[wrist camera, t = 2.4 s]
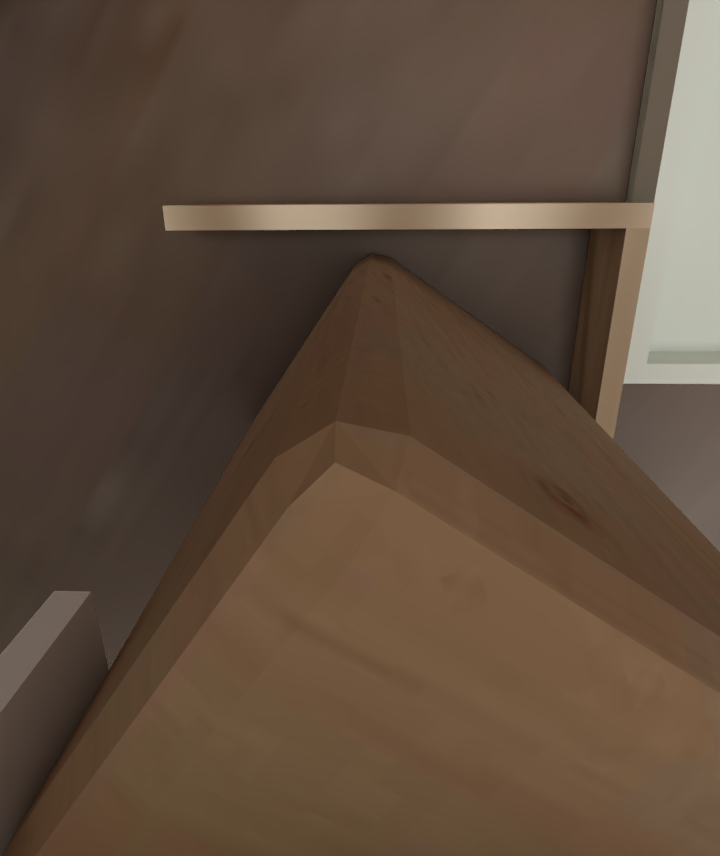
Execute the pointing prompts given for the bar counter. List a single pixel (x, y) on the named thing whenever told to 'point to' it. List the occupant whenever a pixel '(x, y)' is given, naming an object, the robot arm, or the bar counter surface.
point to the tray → (679, 199)
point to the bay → (608, 243)
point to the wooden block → (410, 626)
